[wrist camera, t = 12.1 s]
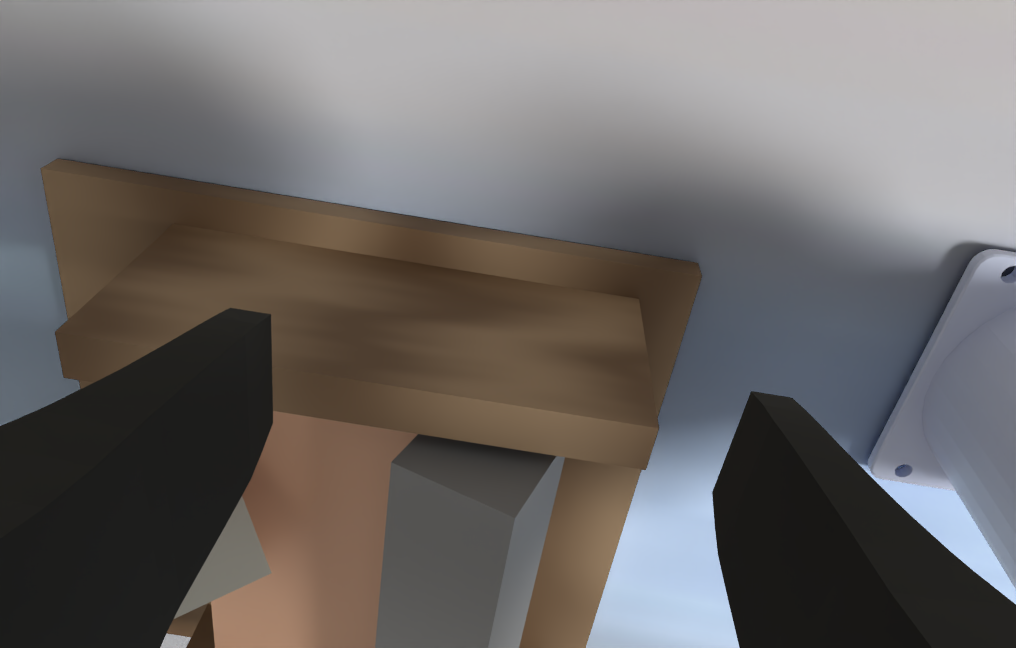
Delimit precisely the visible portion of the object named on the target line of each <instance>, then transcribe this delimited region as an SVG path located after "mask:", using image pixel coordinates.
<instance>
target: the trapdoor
mask: <svg viewBox="0 0 1016 648" xmlns="http://www.w3.org/2000/svg"><path fill="white" fill-rule="evenodd" d="M564 459H565V457H560V456H554V455H547V454H541V453H535V452H529V451H522V450H516V449H510V448H503V447H497V446H491V445H485V444H478V443H472V442H466V441H459V440H453V439H447V438H440V437H434V436H428V435H422V434H415V433H409V432H403V431H396V430H390V429H384V428H377V427H371V426H365V425H359V424H352V423H346V422H340V421H333V420H327V419H321V418H314V417H308V416H302V415H296V414H289V413H283V412H277V411H273V424H272V427H271V430H270V432H269V435H268V438H267V440H266V443H265V446H264V448H263V451H262V453H261V456H260V458H259V461H258V463H257V466H256V468H255V471H254V473H253V476H252V478H251V480H250V482H249V484H248V486H247V488H246V489H245V491H244V493H243V495H242V497H243V500H244V502H245V505H246V507H247V510H248V513H249V515H250V518H251V520H252V523H253V526H254V528H255V531H256V534H257V536H258V539H259V541H260V544H261V547H262V549H263V552H264V554H265V557H266V560H267V562H268V565H269V567H270V570H271V574H269V575H267V576H265V577H262V578H260V579H258V580H256V581H254V582H252V583H250V584H248V585H245V586H243V587H241V588H239V589H237V590H235V591H233V592H230V593H228V594H226V595H224V596H222V597H220V598H218V599H215V600H213V601H211V608H212V619H213V631H214V643H215V648H519V645H520V641H521V637H522V633H523V629H524V625H525V621H526V616H527V612H528V608H529V604H530V600H531V596H532V592H533V588H534V583H535V579H536V575H537V571H538V567H539V563H540V559H541V554H542V550H543V546H544V542H545V538H546V534H547V530H548V526H549V521H550V517H551V513H552V509H553V505H554V501H555V497H556V492H557V488H558V484H559V480H560V476H561V472H562V468H563V463H564Z"/></svg>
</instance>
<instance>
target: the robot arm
mask: <svg viewBox="0 0 1016 648" xmlns="http://www.w3.org/2000/svg"><path fill="white" fill-rule="evenodd" d="M1010 266H1015V269H1014V270H1013V272H1012V273H1011V274H1009V275H1007V276H1003V277H1001V275H1002V272H1003V271H1004V270H1005V269H1006V268H1008V267H1010ZM272 424H273V387H272V334H271V314H267V313H261V312H254V311H248V310H242V309H236V308H229V309H227V310H225V311H223V312H221V313H219V314H217V315H215V316H213V317H211V318H210V319H208V320H206V321H204V322H203V323H201V324H199V325H197V326H196V327H194V328H192V329H190V330H189V331H187V332H185V333H184V334H182V335H180V336H178V337H177V338H175V339H173V340H171V341H170V342H168V343H166V344H164V345H163V346H161V347H159V348H157V349H156V350H154V351H152V352H150V353H148V354H147V355H145V356H143V357H141V358H140V359H138V360H136V361H134V362H132V363H131V364H129V365H127V366H125V367H123V368H122V369H120V370H118V371H116V372H114V373H112V374H110V375H108V376H106V377H104V378H102V379H100V380H98V381H96V382H94V383H92V384H90V385H88V386H86V387H84V388H82V389H80V390H78V391H76V392H74V393H72V394H70V395H68V396H66V397H64V398H62V399H60V400H59V401H57V402H54V403H52V404H50V405H48V406H46V407H44V408H41V409H39V410H37V411H35V412H33V413H30V414H28V415H26V416H23V417H21V418H19V419H17V420H14V421H12V422H9V423H7V424H4V425H2V426H0V648H160V646H161V644H162V642H163V640H164V637H165V635H166V633H167V631H168V629H169V627H170V625H171V623H172V621H173V619H174V617H175V615H176V613H177V611H178V609H179V607H180V605H181V604H182V602H183V600H184V598H185V597H186V595H187V593H188V591H189V589H190V588H191V586H192V584H193V582H194V581H195V579H196V577H197V575H198V573H199V572H200V570H201V568H202V566H203V565H204V563H205V561H206V559H207V558H208V556H209V554H210V552H211V550H212V549H213V547H214V545H215V543H216V542H217V540H218V538H219V536H220V534H221V533H222V531H223V529H224V527H225V526H226V524H227V522H228V520H229V518H230V517H231V515H232V513H233V511H234V509H235V508H236V506H237V504H238V502H239V500H240V499H241V497H242V495H243V493H244V491H245V489H246V488H247V486H248V484H249V482H250V480H251V478H252V476H253V473H254V471H255V468H256V466H257V463H258V461H259V458H260V456H261V453H262V451H263V448H264V446H265V443H266V440H267V438H268V435H269V432H270V430H271V427H272ZM867 464H868V467H869V469H870V471H871V473H872V474H873V475H874V476H875V477H876V478H879V479H883V480H890V481H896V482H902V483H909V484H915V485H921V486H927V487H934V488H940V489H946V490H953V491H956V492H957V494H958V495H959V497H960V498H961V500H962V502H963V503H964V505H965V507H966V508H967V510H968V512H969V513H970V515H971V517H972V518H973V520H974V521H975V523H976V525H977V526H978V528H979V530H980V531H981V533H982V535H983V536H984V538H985V539H986V541H987V543H988V544H989V546H990V548H991V549H992V551H993V553H994V554H995V556H996V557H997V559H998V561H999V562H1000V564H1001V566H1002V567H1003V569H1004V571H1005V572H1006V574H1007V575H1008V577H1009V579H1010V580H1011V582H1012V584H1013V585H1014V587H1015V589H1016V252H1010V251H1004V250H998V249H988V250H985V251H982V252H980V253H978V254H977V255H976V256H974V257H973V258H972V260H971V261H970V262H969V264H968V266H967V268H966V270H965V272H964V274H963V276H962V278H961V280H960V281H959V283H958V285H957V287H956V289H955V291H954V293H953V295H952V297H951V299H950V301H949V303H948V305H947V307H946V309H945V311H944V313H943V315H942V317H941V318H940V320H939V322H938V324H937V326H936V328H935V330H934V332H933V334H932V336H931V338H930V340H929V342H928V344H927V346H926V348H925V350H924V352H923V353H922V355H921V357H920V359H919V361H918V363H917V365H916V367H915V369H914V371H913V373H912V375H911V377H910V379H909V381H908V383H907V385H906V387H905V388H904V390H903V392H902V394H901V396H900V398H899V400H898V402H897V404H896V406H895V408H894V410H893V412H892V414H891V416H890V418H889V420H888V422H887V424H886V425H885V427H884V429H883V431H882V433H881V435H880V437H879V439H878V441H877V443H876V445H875V447H874V449H873V451H872V453H871V455H870V457H869V459H868V463H867ZM900 465H906V466H905V467H902V468H900V469H896V468H897V467H898V466H900ZM712 493H713V506H714V519H715V530H716V540H717V549H718V556H719V560H720V565H721V570H722V574H723V578H724V583H725V587H726V591H727V596H728V600H729V605H730V609H731V613H732V617H733V621H734V626H735V630H736V634H737V638H738V642H739V647H740V648H1016V604H1014V603H1013V602H1012V601H1010V600H1009V599H1008V598H1007V597H1005V596H1004V595H1003V594H1002V593H1000V592H999V591H998V590H997V589H995V588H994V587H993V586H992V585H990V584H989V583H988V582H987V581H985V580H984V579H983V578H981V577H980V576H979V575H978V574H976V573H975V572H974V571H973V570H971V569H970V568H969V567H968V566H967V565H966V564H964V563H963V562H962V561H961V560H960V559H958V558H957V557H956V556H955V555H954V554H953V553H951V552H950V551H949V550H948V549H947V548H946V547H945V546H944V545H942V544H941V543H940V542H939V541H938V540H937V539H936V538H935V537H934V536H932V535H931V534H930V533H929V532H928V531H927V530H926V529H925V528H924V527H923V526H921V525H920V524H919V523H918V522H917V521H916V520H915V519H914V518H913V517H912V516H910V515H909V514H908V513H907V512H906V511H905V510H904V509H903V508H902V507H901V506H900V505H899V504H898V503H897V502H896V501H895V500H894V499H893V498H892V497H891V496H890V495H889V494H888V493H887V492H886V491H885V490H884V489H882V488H881V487H880V486H879V485H878V484H877V483H876V482H875V481H874V480H873V479H872V478H871V477H870V476H869V475H868V474H867V473H866V472H865V470H864V469H863V468H862V467H861V466H860V465H859V464H858V463H857V462H856V461H855V460H854V459H853V458H852V457H851V456H850V455H849V454H848V453H847V452H846V451H845V450H844V449H843V448H842V447H841V446H840V445H839V444H838V443H837V442H836V441H835V440H834V439H833V438H832V437H831V436H830V435H829V433H828V432H827V431H826V430H825V429H824V428H823V427H822V426H821V425H820V424H819V423H818V422H817V421H816V420H815V419H814V418H813V417H812V416H811V415H810V414H809V413H808V412H807V411H806V410H805V409H804V408H803V407H801V406H800V405H799V404H798V403H797V402H796V401H795V400H794V399H793V398H790V397H784V396H778V395H771V394H765V393H759V392H753V391H751V393H750V396H749V399H748V401H747V404H746V406H745V409H744V412H743V414H742V417H741V419H740V422H739V425H738V427H737V430H736V432H735V435H734V438H733V440H732V443H731V445H730V448H729V451H728V453H727V456H726V458H725V461H724V464H723V466H722V469H721V471H720V474H719V476H718V479H717V482H716V484H715V487H714V489H713V492H712Z"/></svg>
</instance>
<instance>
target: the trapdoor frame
mask: <svg viewBox="0 0 1016 648" xmlns="http://www.w3.org/2000/svg"><path fill="white" fill-rule="evenodd" d="M41 173H42V179H43V184H44V190H45V195H46V201H47V206H48V212H49V217H50V223H51V228H52V234H53V240H54V245H55V251H56V256H57V262H58V267H59V273H60V278H61V284H62V289H63V295H64V300H65V306H66V311H67V317H68V320H67V321H66V322H65V323H64V324H63V325H62V326H61V327H60V328H59V329H58V330H56V331H55V335H56V340H57V346H58V351H59V356H60V361H61V366H62V371H63V377H64V378H69V379H75V380H79V383H80V389H82V388H84V387H86V386H88V385H90V384H92V383H94V382H96V381H98V380H100V379H102V378H104V377H106V376H108V375H110V374H112V373H114V372H116V371H118V370H120V369H122V368H123V367H125V366H127V365H129V364H131V363H132V362H134V361H136V360H138V359H140V358H141V357H143V356H145V355H147V354H148V353H150V352H152V351H154V350H156V349H157V348H159V347H161V346H163V345H164V344H166V343H168V342H170V341H171V340H173V339H175V338H177V337H178V336H180V335H182V334H184V333H185V332H187V331H189V330H190V329H192V328H194V327H196V326H197V325H199V324H201V323H203V322H204V321H206V320H208V319H210V318H211V317H213V316H215V315H217V314H219V313H221V312H223V311H225V310H227V309H229V308H236V309H242V310H248V311H254V312H261V313H267V314H271V334H272V387H273V411H277V412H283V413H289V414H296V415H302V416H308V417H314V418H321V419H327V420H333V421H340V422H346V423H352V424H359V425H365V426H371V427H377V428H384V429H390V430H396V431H403V432H409V433H415V434H422V435H428V436H434V437H440V438H447V439H453V440H459V441H466V442H472V443H478V444H485V445H491V446H497V447H503V448H510V449H516V450H522V451H529V452H535V453H541V454H547V455H554V456H560V457H565V459H564V463H563V468H562V472H561V476H560V480H559V484H558V488H557V492H556V497H555V501H554V505H553V509H552V513H551V517H550V521H549V526H548V530H547V534H546V538H545V542H544V546H543V550H542V554H541V559H540V563H539V567H538V571H537V575H536V579H535V583H534V588H533V592H532V596H531V600H530V604H529V608H528V612H527V616H526V621H525V625H524V629H523V633H522V637H521V641H520V645H519V648H586V644H587V641H588V638H589V635H590V632H591V629H592V625H593V622H594V619H595V616H596V613H597V609H598V606H599V603H600V600H601V597H602V593H603V590H604V587H605V584H606V581H607V578H608V574H609V571H610V568H611V565H612V562H613V558H614V555H615V552H616V549H617V546H618V542H619V539H620V536H621V533H622V530H623V526H624V523H625V520H626V517H627V514H628V511H629V507H630V504H631V501H632V498H633V495H634V491H635V488H636V485H637V482H638V479H639V475H640V472H641V469H642V470H646V468H647V465H648V461H649V458H650V455H651V452H652V449H653V446H654V443H655V439H656V436H657V433H658V430H659V425H658V419H657V418H658V415H659V412H660V408H661V405H662V402H663V399H664V396H665V393H666V389H667V386H668V383H669V380H670V377H671V373H672V370H673V367H674V364H675V361H676V357H677V354H678V351H679V348H680V345H681V342H682V338H683V335H684V332H685V329H686V326H687V322H688V319H689V316H690V313H691V310H692V306H693V303H694V300H695V297H696V294H697V290H698V287H699V284H700V281H701V278H702V275H701V271H700V268H699V265H698V263H695V262H689V261H683V260H677V259H670V258H664V257H658V256H652V255H646V254H640V253H634V252H628V251H621V250H615V249H609V248H603V247H597V246H591V245H585V244H578V243H572V242H566V241H560V240H554V239H548V238H542V237H536V236H529V235H523V234H517V233H511V232H505V231H499V230H493V229H486V228H480V227H474V226H468V225H462V224H456V223H450V222H443V221H437V220H431V219H425V218H419V217H413V216H407V215H401V214H394V213H388V212H382V211H376V210H370V209H364V208H358V207H351V206H345V205H339V204H333V203H327V202H321V201H315V200H309V199H302V198H296V197H290V196H284V195H278V194H272V193H266V192H259V191H253V190H247V189H241V188H235V187H229V186H223V185H217V184H210V183H204V182H198V181H192V180H186V179H180V178H174V177H167V176H161V175H155V174H149V173H143V172H137V171H131V170H125V169H118V168H112V167H106V166H100V165H94V164H88V163H82V162H75V161H69V160H63V159H56V160H54V161H53V162H51V163H49V164H48V165H46V166H44V167H42V168H41ZM167 633H168V634H174V635H181V636H187V637H191V639H190V641H189V643H188V645H187V647H186V648H215V643H214V631H213V619H212V608H211V602H209V603H207V604H205V605H203V606H201V607H198V608H196V609H194V610H192V611H190V612H188V613H186V614H183V615H181V616H179V617H177V618H175V619H173V621H172V623H171V625H170V627H169V629H168V631H167Z"/></svg>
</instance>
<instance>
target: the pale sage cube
mask: <svg viewBox="0 0 1016 648" xmlns="http://www.w3.org/2000/svg"><path fill="white" fill-rule="evenodd" d="M269 574H271V570H270V567H269V565H268V562H267V560H266V557H265V554H264V552H263V549H262V547H261V544H260V541H259V539H258V536H257V534H256V531H255V528H254V526H253V523H252V520H251V518H250V515H249V513H248V510H247V507H246V505H245V502H244V500H243V497H241V499H240V500H239V502H238V504H237V506H236V508H235V509H234V511H233V513H232V515H231V517H230V518H229V520H228V522H227V524H226V526H225V527H224V529H223V531H222V533H221V534H220V536H219V538H218V540H217V542H216V543H215V545H214V547H213V549H212V550H211V552H210V554H209V556H208V558H207V559H206V561H205V563H204V565H203V566H202V568H201V570H200V572H199V573H198V575H197V577H196V579H195V581H194V582H193V584H192V586H191V588H190V589H189V591H188V593H187V595H186V597H185V598H184V600H183V602H182V604H181V605H180V607H179V609H178V611H177V613H176V615H175V617H174V619H175V618H177V617H179V616H181V615H183V614H186V613H188V612H190V611H192V610H194V609H196V608H198V607H201V606H203V605H205V604H207V603H209V602H211V601H213V600H215V599H218V598H220V597H222V596H224V595H226V594H228V593H230V592H233V591H235V590H237V589H239V588H241V587H243V586H245V585H248V584H250V583H252V582H254V581H256V580H258V579H260V578H262V577H265V576H267V575H269Z"/></svg>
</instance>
